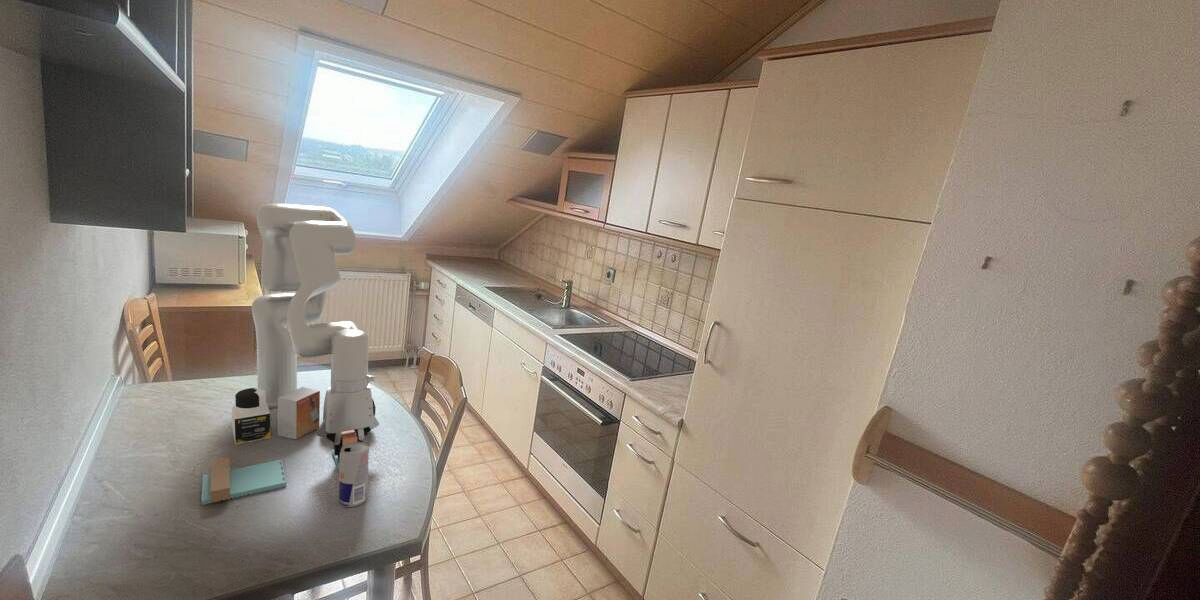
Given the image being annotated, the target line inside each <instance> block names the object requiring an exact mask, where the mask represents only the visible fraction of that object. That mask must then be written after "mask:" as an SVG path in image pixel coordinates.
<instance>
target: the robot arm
mask: <svg viewBox="0 0 1200 600" xmlns="http://www.w3.org/2000/svg"><path fill="white" fill-rule="evenodd" d="M256 223H257V228H258V232H259V234H260V237H261V240H262V249H261V251H262V252H261V253H262V254H261V265H260V266H261V267H260V268H261V270H260V283H261V285H262V287H263V288H264V290H266V291H268V292H272V293H268V294H262V295H261V296H260V295H259V296H258V297H256V298H255V299H254V300H253V302H252V303H251V314H252V319H253V322H254V329H255V336H256V359H257V360H256V365H257V367H256V368H257V374H256V375H257V388H259V389H263V390H264V391H265V392H266V403H267V406H268V408H269V409H271V408H278V397H280V396H283V395H286V394H288V393H290V392H293V391H295V390H297V389H298V381H297V380H298V367H297V366H298V365H297V364H298V362H297V361H298V360H297V359H298V357H297V356H299V357H301V358H308V359H309V358H311V359H312V358H318V357H322V356H323V357H324V356H330V387H327V388H326V392H325V396H324V401H323V409H324V410H323V411H322V412H323V413H322V422H321V424H319V428H317V429H316V433H315V434H316V436H317V437H320V438H323V439H327V440H329V441H331V442H332V443H333V450H334V454H335V456H336V455H337V456H338V459H339V460H340V451H341V448H342V442H341V433H342V432H344V431H350V430H356V432H355V433H356V435H357V442H362V443H363V440H364V439H365V437H366V436H367V435H368V433H370V432H371V430H374V429H375V428H377V427H378V426H379V425H380V423H379V420H377V418H376V415H375V416H374V415H373V401H374V400H373V401H372V399H373V394H372V388H371V386H370V383H371V382H373V381H375V376H374V375H371V374H370V375H369V371H368V370H369V334H368V333H367V332H366V331H364V330H361V328H360V327H359V326H358V325H357V324H356V323H355V322H353V321H352V320H341V321H331V322H320V321H321V320H322V318H323V316H324V312H325V308H326V307H325V305H326V298H327V297H326V296H327V291H329V290H330V289H333V288H335V287H337V285H338V284H340V283H341V274H340V270H339V267H338V262H337V259H336V256H337V255H339V256H340V255H341V256H343V255H346V256H347V255H350V254H353V253H354V252H355V250H356V247H357V237H356V233H355V231H354V229H353V227H352V226H351V224H350V223H349V222H348V221H347V220H346V219H345V218H344V217H343V216H341V214H340V213H338V212H337V211H336V210H334V209H333V208H331V207H326V206H322V205H321V206H319V205H318V206H317V205H303V204H293V203H292V204H291V203H266V204H263V205H261V206H260V207H259V208H258V210H257V213H256ZM318 322H320V323H318ZM287 328H288V329H287Z"/></svg>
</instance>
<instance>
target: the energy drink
mask: <svg viewBox="0 0 1200 600" xmlns="http://www.w3.org/2000/svg"><path fill="white" fill-rule="evenodd" d="M369 451H370V450H369V447H368V444H367V443H364V442H363V441H362V442H352V443H348V444H346V445H344V446H343V447H342V448H341V451H340V466H339V470H338V472H339V474H338V475H339V479H338V480H339V481H338V483H339V484H338V486H339V487H338V489H339V490H338V503H339V504H340V505H341V506H343V507H346V508H353V507H354V508H355V507H357V506H360V505H362V504H363V503H365V502H366V501H367V500H368V494H369V493H368V492H369V491H368V490H369V485H368V484H369V456H370V455H369V454H370V453H369Z"/></svg>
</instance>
